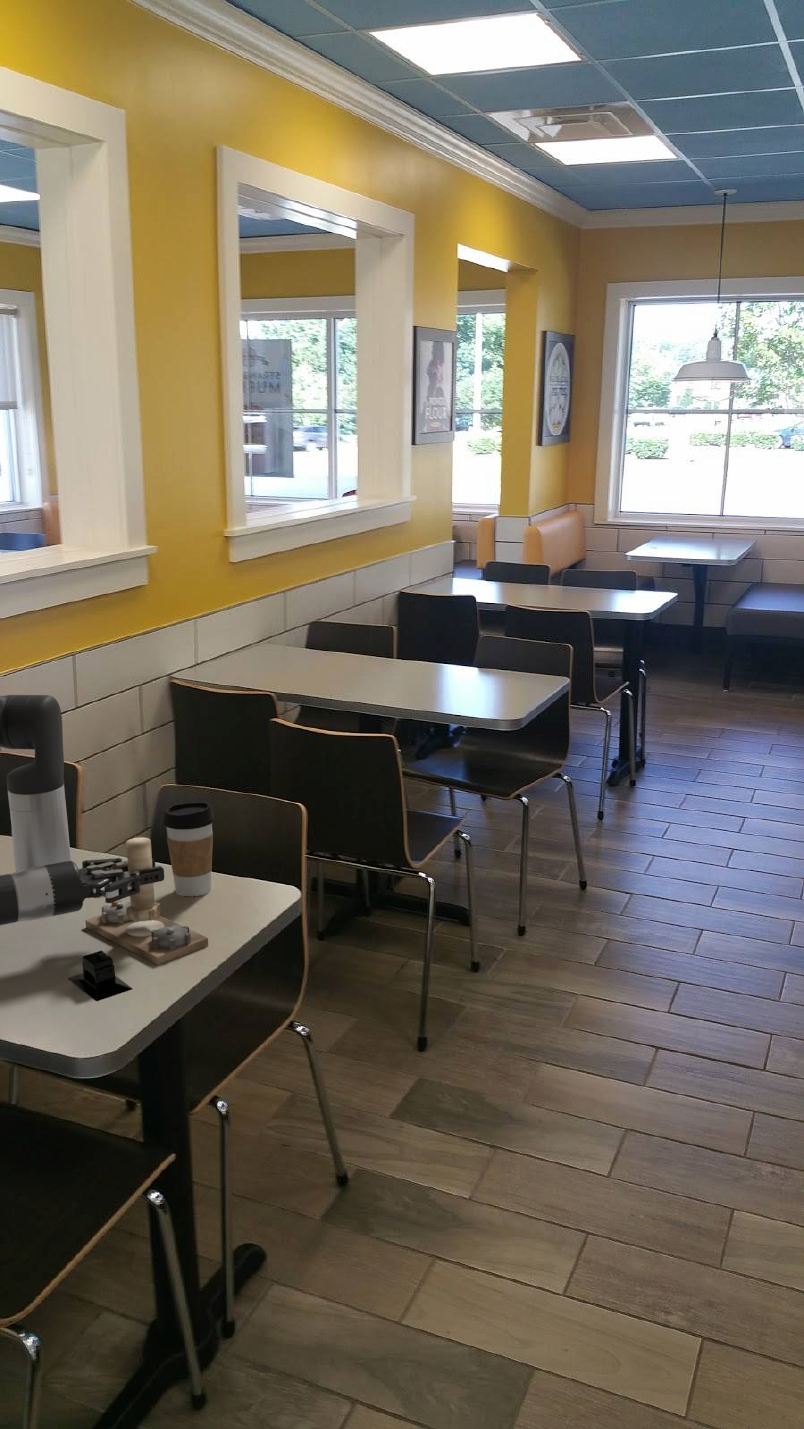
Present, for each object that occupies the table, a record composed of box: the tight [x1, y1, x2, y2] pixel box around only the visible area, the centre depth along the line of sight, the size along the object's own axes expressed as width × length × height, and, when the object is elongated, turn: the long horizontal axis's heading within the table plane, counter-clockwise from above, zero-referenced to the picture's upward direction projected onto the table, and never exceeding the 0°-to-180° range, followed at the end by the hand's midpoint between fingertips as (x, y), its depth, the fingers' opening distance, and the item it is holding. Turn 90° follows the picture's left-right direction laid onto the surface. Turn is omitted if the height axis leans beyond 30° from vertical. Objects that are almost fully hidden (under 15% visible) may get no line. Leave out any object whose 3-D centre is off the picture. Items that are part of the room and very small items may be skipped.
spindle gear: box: [125, 837, 161, 922], centre depth 174 cm, size 5×5×12 cm
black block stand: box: [67, 950, 134, 1002], centre depth 161 cm, size 12×7×5 cm, turn 40°
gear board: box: [85, 900, 209, 966], centre depth 176 cm, size 20×9×3 cm, turn 45°
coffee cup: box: [162, 801, 215, 898], centre depth 193 cm, size 8×8×15 cm
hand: (158, 869), depth 175 cm, fingers closed on spindle gear, 3 cm apart
